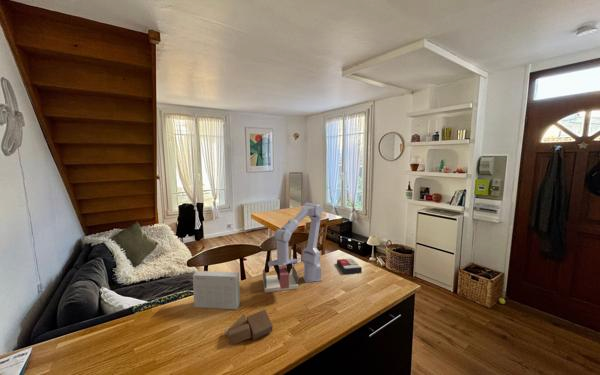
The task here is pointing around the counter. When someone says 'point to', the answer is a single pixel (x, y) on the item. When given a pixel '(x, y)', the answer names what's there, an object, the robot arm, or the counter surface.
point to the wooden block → (249, 327)
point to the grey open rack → (273, 283)
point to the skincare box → (216, 289)
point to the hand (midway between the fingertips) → (283, 278)
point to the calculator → (349, 266)
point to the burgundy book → (283, 277)
